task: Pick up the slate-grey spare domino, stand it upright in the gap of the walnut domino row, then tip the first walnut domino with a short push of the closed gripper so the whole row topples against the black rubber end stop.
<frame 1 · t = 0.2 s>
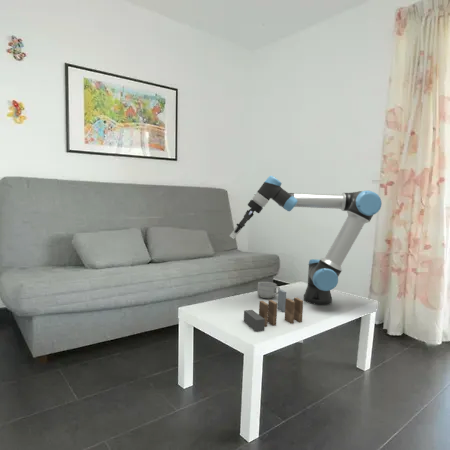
hand: (232, 235, 174), 35 cm above the table, tool tilted 35°, fingers open, 13 cm apart
domino 2: (289, 321, 153), on the table
domino 4: (271, 323, 149), on the table
domino 5: (262, 324, 148), on the table
teacup: (268, 298, 187), on the table
spare domino: (281, 310, 167), on the table
domino 1: (297, 320, 154), on the table
end stop: (253, 325, 146), on the table
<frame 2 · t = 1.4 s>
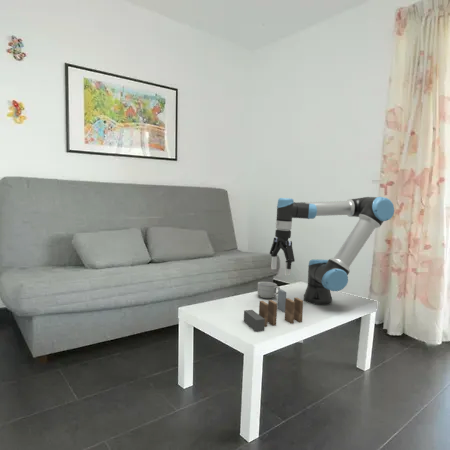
hand: (280, 272, 166), 19 cm above the table, tool pointing down, fingers open, 13 cm apart
nothing on the table moved.
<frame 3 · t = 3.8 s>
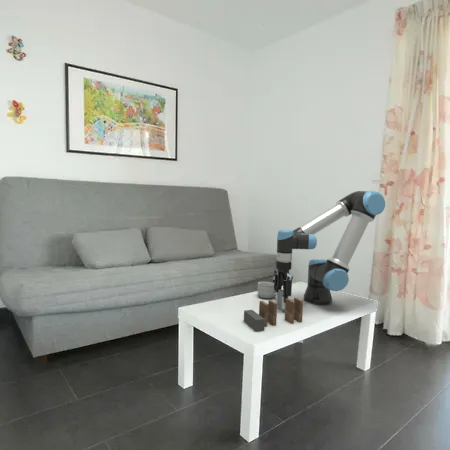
hand: (281, 306, 167), 2 cm above the table, tool pointing down, fingers closed on spare domino, 5 cm apart
spare domino: (281, 310, 167), on the table, touching gripper
everything else where it was.
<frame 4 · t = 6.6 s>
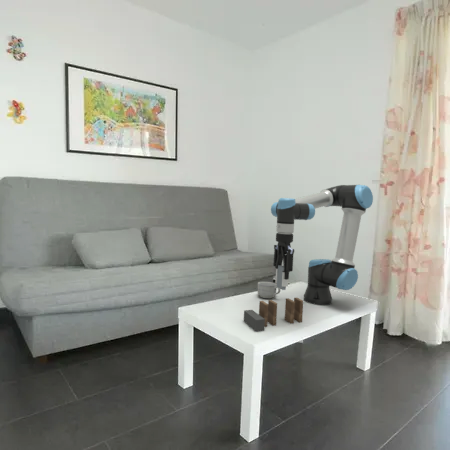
hand: (281, 284, 150), 17 cm above the table, tool pointing down, fingers closed on spare domino, 5 cm apart
spare domino: (281, 288, 150), point 15 cm above the table, touching gripper
everything else where it was.
when the fingers open (3 cm above the table, at t = 9.6 s): spare domino drops 2 cm, on the table.
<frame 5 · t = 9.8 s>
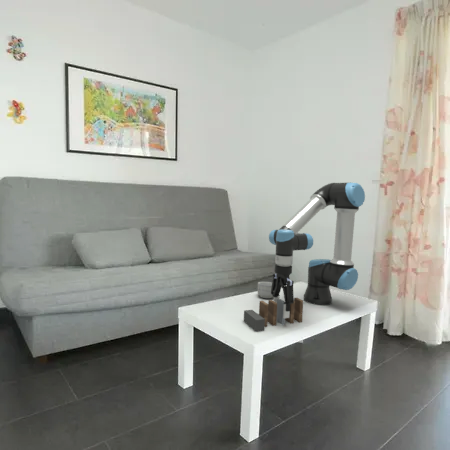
hand: (280, 314, 151), 4 cm above the table, tool pointing down, fingers open, 8 cm apart
spare domino: (280, 322, 151), on the table
everything else where it was.
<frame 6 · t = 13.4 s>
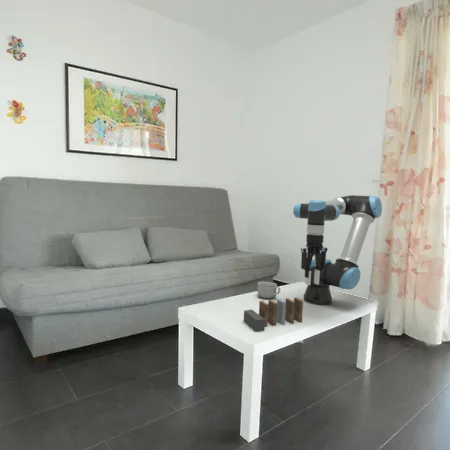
hand: (312, 283, 155), 17 cm above the table, tool pointing down, fingers open, 4 cm apart
nothing on the table moved.
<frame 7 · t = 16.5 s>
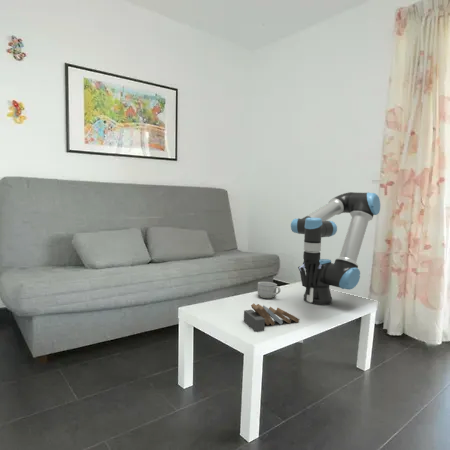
hand: (309, 301, 156), 8 cm above the table, tool pointing down, fingers closed
domino 2: (287, 320, 152), point 1 cm above the table, tilted 56°, touching domino 1, spare domino
domino 4: (271, 322, 149), on the table, tilted 38°, touching domino 5, spare domino
domino 5: (266, 322, 148), point 1 cm above the table, tilted 38°, touching domino 4, end stop
spare domino: (279, 321, 151), point 1 cm above the table, tilted 48°, touching domino 2, domino 4
domino 1: (295, 319, 154), point 1 cm above the table, tilted 61°, touching domino 2
everything else where it was.
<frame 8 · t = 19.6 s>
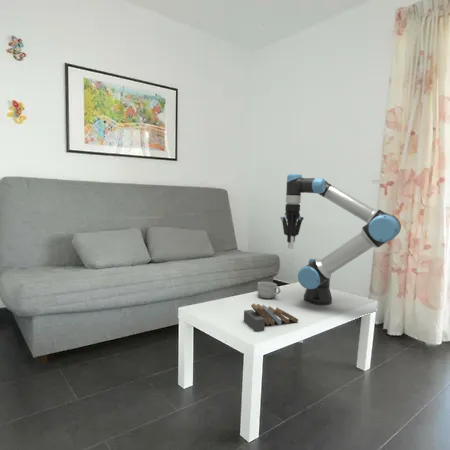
hand: (290, 248, 178), 29 cm above the table, tool pointing down, fingers closed
at the end: domino 5 tilted 38°; domino 5 touching domino 4, end stop; spare domino tilted 45° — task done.
